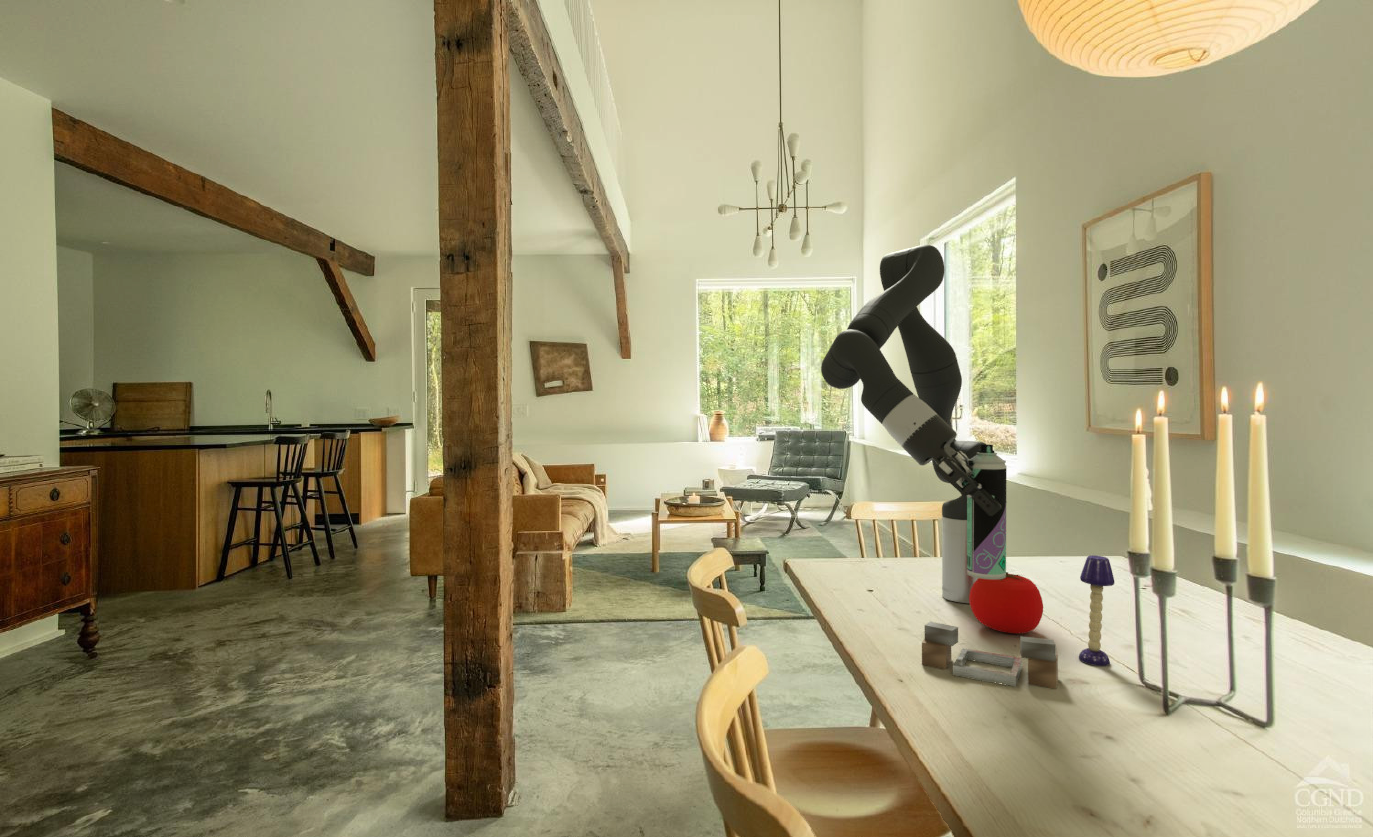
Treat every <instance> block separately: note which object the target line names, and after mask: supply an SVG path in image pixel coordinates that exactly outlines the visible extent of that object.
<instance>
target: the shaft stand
mask: <svg viewBox="0 0 1373 837" xmlns="http://www.w3.org/2000/svg"><path fill="white" fill-rule="evenodd" d="M1019 637H1020V639H1019V641H1020V642H1019V643H1020V645H1019V646H1020V647H1019V648H1020V651H1019V652H1020V655H1021V658H1022V659H1023V658H1024V659H1027V685H1031V686H1038V687H1043V688H1050V689H1055V690H1057V687H1058V686H1057V684H1058V681H1059V680H1058V678H1059V660H1058V659H1059V658H1058V654H1056V650H1057V648H1056V643H1055V641H1054V639H1051V638H1039V637H1032V636H1031V637H1030V636H1022V635H1021V636H1019ZM958 643H959V626H955V625H949V624H945V623H940V622H934V621H931V620H930V621H929V622H927V623H926V624H924V639H923V640H922V642H921V665H922V664H923V665H922V666H926V665H929V667H932V666H933V667H934V668H937V669H943V670H947V668H948V667H949V665H950V663H951V662H952V647H954V646H955V645H956V644H958ZM950 661H951V662H950ZM948 664H949V665H948Z"/></svg>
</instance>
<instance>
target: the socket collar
mask: <svg viewBox="0 0 1373 837" xmlns="http://www.w3.org/2000/svg"><path fill="white" fill-rule="evenodd" d="M970 660H975V661H974V662H976V661H980V662H979V663H982V662H986V663H985V664H988V663H991V664H990V665H994V664H996V665H995V666H999V665H1000V666H1001V667H1007V668H1011V671H1010V673H1009V672H1004V671H1003V672H1002V671H997V670H992V669H985V668H980V667H975V666H968V665H966V664H967V662H968V661H970ZM966 661H967V662H966ZM965 663H966V664H965ZM1022 669H1023V658H1022V657H1018V656H1012V655H1007V654H1006V655H1005V654H1000V653H993V652H987V651H982V650H975V649H971V648H965V647H964V648H963V647H962V649H961V651H960V653H959V654H958V656H957V657H956V659H955V661H954V663H953V665H952V676H953V675H956V676H955V677H959V676H962V677H961V678H964V677H969V678H968V679H970V678H973V679H972V680H975V679H976V680H977V681H981V680H982V681H983V682H987V683H991V682H996V683H995V684H997V683H1002V684H1006V685H1005V686H1008V685H1010V686H1009V687H1013V686H1014V687H1013V688H1016V687H1017V685H1018V681H1019V678H1020V675H1021V672H1022ZM976 680H975V681H976ZM982 681H981V682H982ZM1002 684H1001V685H1002ZM1016 684H1017V685H1016Z"/></svg>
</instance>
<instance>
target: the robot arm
mask: <svg viewBox="0 0 1373 837" xmlns="http://www.w3.org/2000/svg"><path fill="white" fill-rule="evenodd" d="M879 275H880V283H881V285H882V289H883V291H882V292H880V293H879V294H878V295H876V296H875V297H872V299H870V300H869V301H868V302H867V303H865V304H864V305H863V307H861V309H860V310H858V312H857V313H856V315H855V316H854V318H853V319H852V320H851V321H850V323H849V325H848V326H847V329H845V330H843V331H841V332H839V333H838V334H837V336H836V337H835V338H834V340H833V342H832V344H831V346H830V347H829V348H828V351H827V352H826V354H825V356H824V358H823V359H822V362H821V367H820V372H821V375H822V378H823V380H824V381H825V382H826V383H827V385H829V386H830V387H832V388H835V389H841V390H845V389H849V388H852V387H854V386H855V385H856V384H858V382H859V381H861V383H862V391H861V392H862V393H861V397H860V400H861V404H862V406H863V407H864V408H865V409H866V410H867V411H868V412H869V413H870V414H871V415H872V416H873V417H874V418H875V419H876V420H877V421H878V422H879V423H880V424H881V425H882V426H883V427H884V429H885V430H886V431H887V433H888V434H889V436H891V438H892V439H893V440H895V442H897V444H898V445H899V446H901V447H902V448H903V449H904V451H905V452H906V453H908V454H909V456H911V458H912V459H913V460H914V461H915V462H916V463H917V464H918V465H919V466H926V465H927V464H929V463H930V462H931V463H932V466H933V470H934V472H935V475H936V477H937V478H938V479H939V480H940V481H941V482H944V483H947V484H950V485H952V486H953V488H954V489H956V490H957V491H958V492H959V493H960V496H959V497H957V498H954V499H951V500H947V501H945V502H943V503H942V505H941V532H942V533H941V539H942V540H941V545H942V546H941V547H942V548H941V551H942V552H941V554H942V555H941V567H942V568H941V571H942V572H941V575H942V576H941V581H942V583H941V584H942V585H941V586H942V587H941V590H942V594H941V595H942V597H943V598H944V599H945V600H948V601H951V602H956V603H960V604H970V601H969V595H970V590H971V588H972V586H973V584H974V582H975V581H976V580H977V579H978V578H976V577H972V576H969V575H968V574H967V497H969V498H972V497H973V498H972V499H973V500H974V501H975V502H976V503H977V504H978V505H979V506H980V507H981V508H982V509H983V510H984V511H985V512H986V513H987V514H988V515H989V516H993V515H994V514H995V513H997V512H998V511H999V510H1000V509H1001V505H1000V504H999V503H998V502H997V501H996V500H995V499H994V498H993V497H992V496H991V495H990V494H989V493H988V492H987V491H986V490H985V489H982V488H983V486H982V484H981V483H979V482H978V481H977V480H976V479H975V473H974V472H973V471H972V469H971V468H970V467H969V466H968V463H969V462H968V460H969V459H971V458H973V457H974V456H976V455H978V454H977V452H979V450H980V448H981V445H988V444H987V443H985V442H982V441H974V440H973V441H972V440H971V441H969V440H956V438H957V435H958V433H957V432H956V430H954V429H953V426H952V415H953V412H954V409H955V406H956V404H957V401H958V399H959V396H960V394H961V390H962V385H963V380H962V379H963V377H962V374H961V369H960V365H959V362H958V359H957V353H956V352H955V349H954V348H953V347H952V344H950V343H949V342H948V340H947V339H946V338H945V337H944V336H942V335H941V333H939V331H937V330H936V329H935V328H934V327H932V325H931V324H930V323H928V321H927V320H925V318H924V317H923V315H922V313H920V311H919V308H918V306H919V305H920V304H921V303H922V302H923V301H924V300H926V299H927V298H929V296H930V295H932V294H933V293H934V292H935V291H936V290H938V288H939V287H940V286H941V284H942V283H943V279H944V277H945V263H944V259H943V255H942V253H941V252H940V250H939V249H938V248H937V247H935V246H933V245H931V244H921V245H916V246H913V247H909V248H904V249H900V250H896V251H894V252H890V253H887V254H885V255H884V256H883V257H882V259H881V261H880V264H879ZM896 329H898V332H899V334H900V337H901V341H902V343H903V348H904V351H905V355H906V358H907V362H908V367H909V370H910V374H911V378H912V381H913V384H914V388H915V391H916V394H917V395H916V394H914V392H912V391H911V389H909V388H908V386H906V384H904V383H903V381H901V380H900V379H899V378H898V377H897V375H896V374H895V372H894V370H893V369H892V367H891V365H890V364H889V362H888V360H887V358H885V356H884V354H883V352H882V350H881V349H882V348H883V346H884V345H885V344H886V343H887V341H889V338H891V336H892V334H893V333H894V331H895V330H896ZM981 489H982V490H981ZM1007 503H1008V502H1007V500H1006V504H1007Z"/></svg>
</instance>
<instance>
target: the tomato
mask: <svg viewBox="0 0 1373 837" xmlns="http://www.w3.org/2000/svg"><path fill="white" fill-rule="evenodd" d="M969 601H970V603H969V605H970V609H971V611H972V614H973V615H974V617H975V619H977V621H979V623H980V624H982V625H984V627H987V628H989V629H992V630H994V631H998V632H1002V633H1008V634H1027V633H1029V632H1032V631H1034V630H1035V629H1036V628H1037V627H1038V626H1039V624H1040V623H1041V620H1042V618H1043V615H1044V614H1043V613H1044V603H1043V598H1042V595H1041V593H1040V590H1039V588H1038V587H1037V585H1036V584H1035V583H1034V582H1033V581H1032V580H1031V579H1029V578H1027V577H1024V576H1023V575H1019V574H1014V573H1009V572H1007V571H1006V577H1005V578H1003V579H981V578H978V579H977V580H976V581H975V582H974V584H973V586H972V588H971V590H970V595H969Z"/></svg>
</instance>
